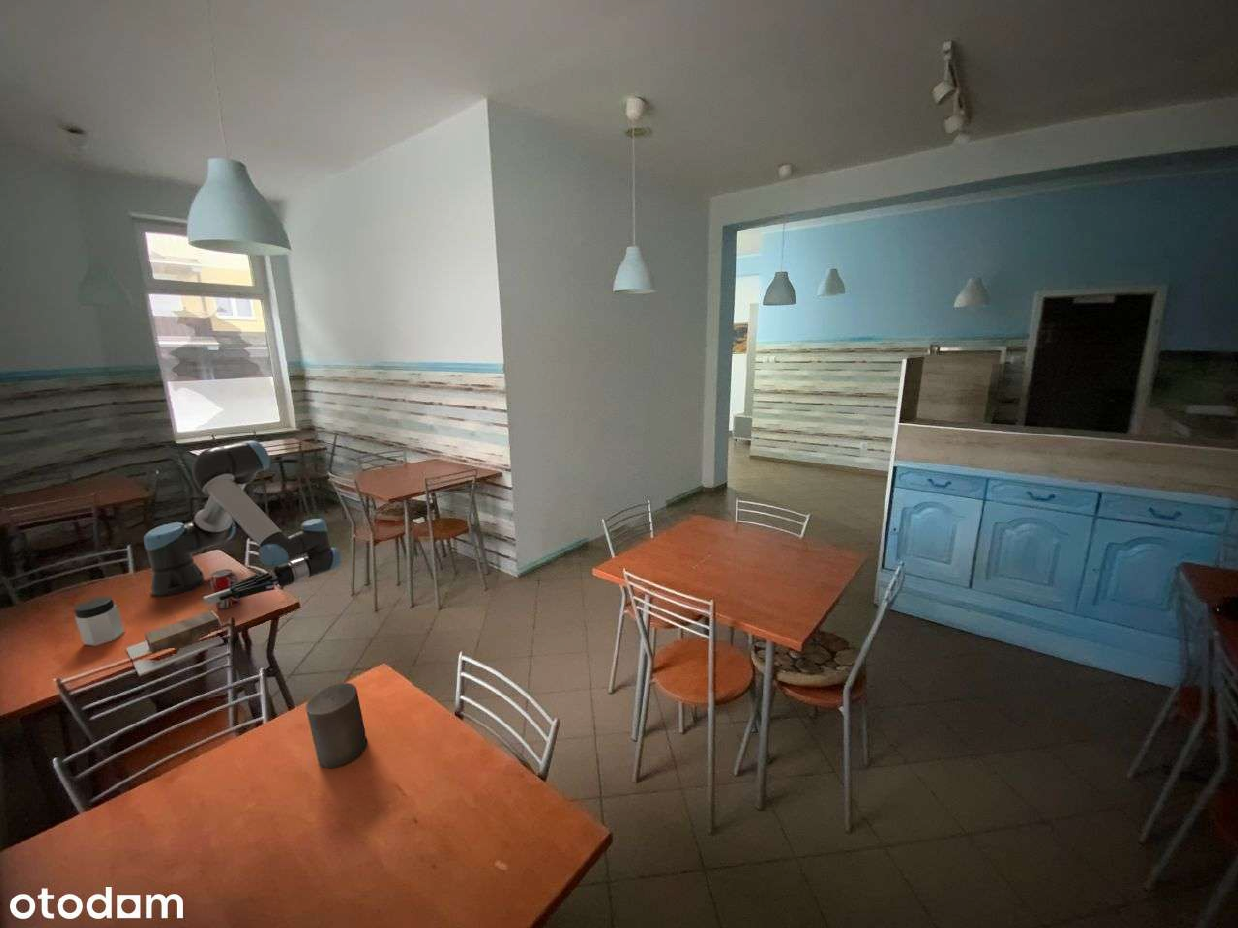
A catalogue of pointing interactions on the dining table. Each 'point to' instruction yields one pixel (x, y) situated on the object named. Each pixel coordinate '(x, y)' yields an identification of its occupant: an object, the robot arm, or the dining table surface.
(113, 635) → the jar
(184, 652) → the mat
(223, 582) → the soda can
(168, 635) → the walnut block
